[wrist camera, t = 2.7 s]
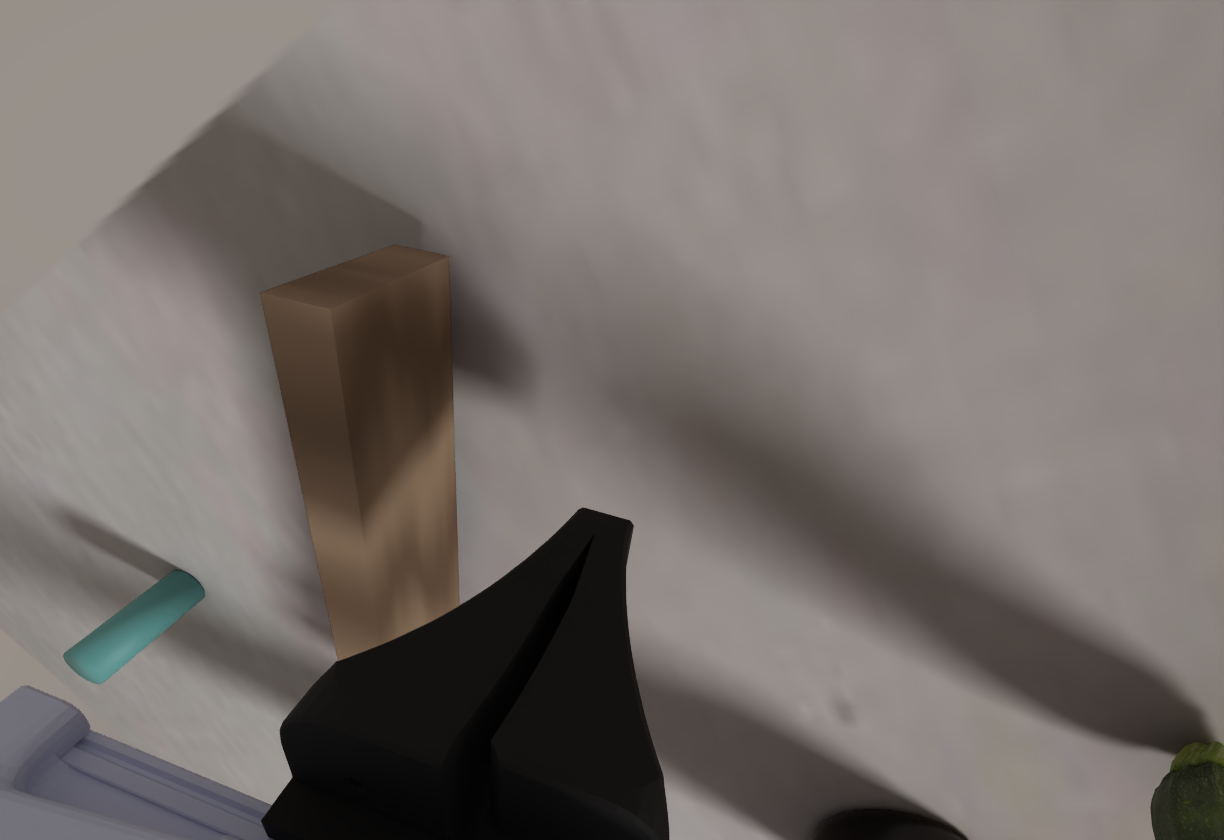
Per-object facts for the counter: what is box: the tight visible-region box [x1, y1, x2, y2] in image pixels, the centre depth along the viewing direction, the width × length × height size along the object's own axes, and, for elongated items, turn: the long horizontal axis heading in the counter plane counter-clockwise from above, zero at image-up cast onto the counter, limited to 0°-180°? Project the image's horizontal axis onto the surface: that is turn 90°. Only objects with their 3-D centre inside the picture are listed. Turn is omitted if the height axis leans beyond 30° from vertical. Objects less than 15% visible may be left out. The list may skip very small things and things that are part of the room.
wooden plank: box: [260, 245, 460, 661], centre depth 18 cm, size 21×2×6 cm, turn 173°
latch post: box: [63, 570, 205, 684], centre depth 26 cm, size 2×2×5 cm
